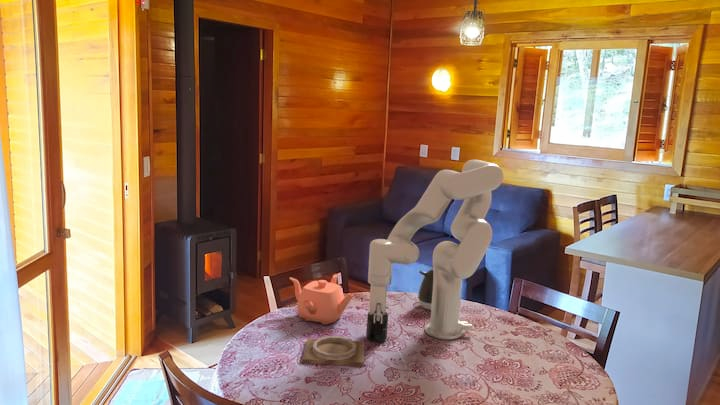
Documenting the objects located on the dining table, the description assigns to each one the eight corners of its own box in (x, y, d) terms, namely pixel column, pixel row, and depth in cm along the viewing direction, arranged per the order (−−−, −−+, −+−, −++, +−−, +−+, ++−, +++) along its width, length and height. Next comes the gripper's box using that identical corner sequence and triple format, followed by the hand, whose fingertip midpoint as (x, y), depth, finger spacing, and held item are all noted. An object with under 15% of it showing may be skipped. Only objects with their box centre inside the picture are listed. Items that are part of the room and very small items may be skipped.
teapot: (288, 311, 194) (289, 275, 192) (335, 305, 202) (337, 270, 199) (303, 331, 178) (304, 292, 176) (354, 325, 185) (356, 286, 183)
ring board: (364, 344, 170) (364, 336, 170) (363, 366, 157) (363, 357, 156) (307, 341, 171) (307, 334, 170) (302, 362, 157) (302, 354, 156)
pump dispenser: (416, 301, 210) (419, 264, 207) (443, 303, 209) (446, 266, 206) (416, 311, 200) (419, 272, 197) (445, 313, 199) (448, 274, 196)
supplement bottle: (385, 344, 171) (387, 309, 169) (364, 341, 173) (365, 306, 170) (388, 335, 178) (390, 301, 176) (368, 333, 179) (369, 299, 177)
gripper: (368, 269, 180) (365, 317, 183) (367, 286, 163) (365, 339, 166) (390, 270, 180) (387, 318, 183) (392, 287, 163) (389, 340, 166)
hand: (376, 328), depth 175 cm, fingers open, 9 cm apart
